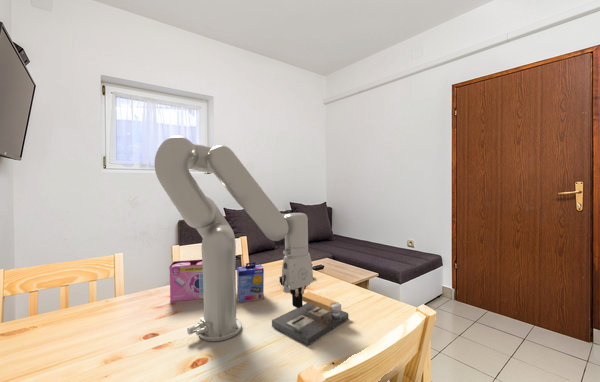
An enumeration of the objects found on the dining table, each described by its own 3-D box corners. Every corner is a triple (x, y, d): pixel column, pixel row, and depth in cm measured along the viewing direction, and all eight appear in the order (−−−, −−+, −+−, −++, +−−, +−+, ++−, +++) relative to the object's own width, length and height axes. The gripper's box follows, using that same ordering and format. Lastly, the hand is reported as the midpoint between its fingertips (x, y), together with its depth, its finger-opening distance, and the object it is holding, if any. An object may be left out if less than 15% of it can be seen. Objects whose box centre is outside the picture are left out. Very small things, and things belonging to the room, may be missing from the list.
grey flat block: (307, 346, 75) (307, 331, 75) (271, 326, 85) (271, 313, 85) (348, 319, 89) (348, 307, 89) (313, 305, 99) (313, 294, 99)
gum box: (234, 288, 116) (234, 256, 116) (234, 295, 109) (234, 262, 108) (174, 294, 111) (173, 261, 110) (169, 302, 103) (168, 266, 103)
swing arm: (336, 314, 84) (336, 309, 84) (299, 299, 94) (299, 295, 94) (344, 309, 87) (344, 304, 87) (308, 296, 97) (308, 291, 97)
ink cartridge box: (238, 303, 102) (238, 265, 101) (236, 297, 107) (236, 261, 106) (264, 299, 105) (264, 262, 105) (261, 293, 110) (260, 258, 110)
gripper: (286, 257, 81) (287, 318, 82) (320, 248, 91) (321, 303, 92) (271, 253, 87) (272, 309, 87) (305, 245, 97) (306, 296, 97)
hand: (297, 306), depth 89 cm, fingers closed
